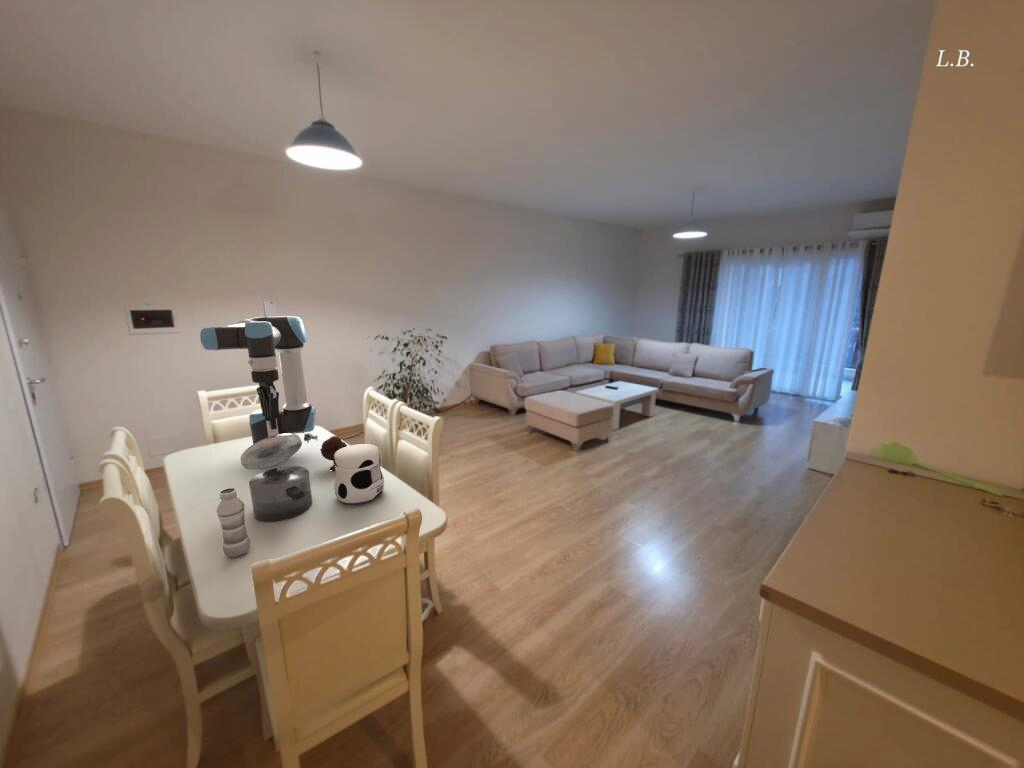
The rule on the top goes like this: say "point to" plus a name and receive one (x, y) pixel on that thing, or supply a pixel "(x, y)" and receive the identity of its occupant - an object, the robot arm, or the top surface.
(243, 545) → the plastic bottle
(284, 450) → the lid
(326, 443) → the brown miniature tree
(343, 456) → the milk container
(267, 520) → the pot
